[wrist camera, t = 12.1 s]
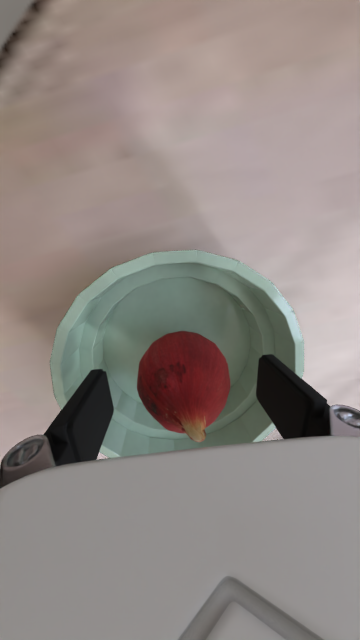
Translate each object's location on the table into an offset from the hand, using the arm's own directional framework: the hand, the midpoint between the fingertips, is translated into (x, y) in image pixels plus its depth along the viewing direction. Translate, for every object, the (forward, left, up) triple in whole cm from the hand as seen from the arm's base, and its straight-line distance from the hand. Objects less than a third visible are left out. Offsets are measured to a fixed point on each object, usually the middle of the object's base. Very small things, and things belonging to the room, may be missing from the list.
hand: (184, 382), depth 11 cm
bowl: (0, 0, -5) cm, 5 cm away
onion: (0, 0, -5) cm, 5 cm away
